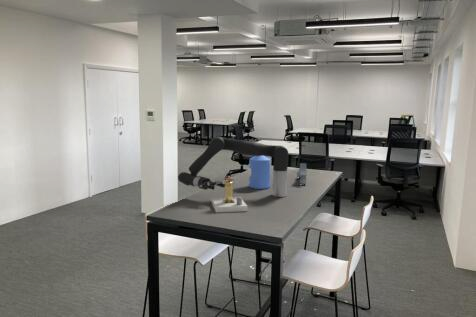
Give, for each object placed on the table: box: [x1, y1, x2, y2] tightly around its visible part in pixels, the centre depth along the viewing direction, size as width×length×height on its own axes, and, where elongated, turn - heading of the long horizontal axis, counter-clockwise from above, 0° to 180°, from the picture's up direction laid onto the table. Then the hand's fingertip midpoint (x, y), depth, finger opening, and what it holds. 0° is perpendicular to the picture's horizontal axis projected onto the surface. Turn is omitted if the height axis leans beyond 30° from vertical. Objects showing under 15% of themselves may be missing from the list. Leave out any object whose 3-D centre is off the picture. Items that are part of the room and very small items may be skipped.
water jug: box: [248, 156, 272, 190], centre depth 281 cm, size 16×16×28 cm
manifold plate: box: [211, 196, 248, 213], centre depth 228 cm, size 22×18×7 cm
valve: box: [223, 177, 235, 203], centre depth 227 cm, size 6×5×17 cm
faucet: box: [296, 162, 308, 185], centre depth 302 cm, size 6×17×30 cm
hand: (219, 186), depth 232 cm, fingers open, 8 cm apart
